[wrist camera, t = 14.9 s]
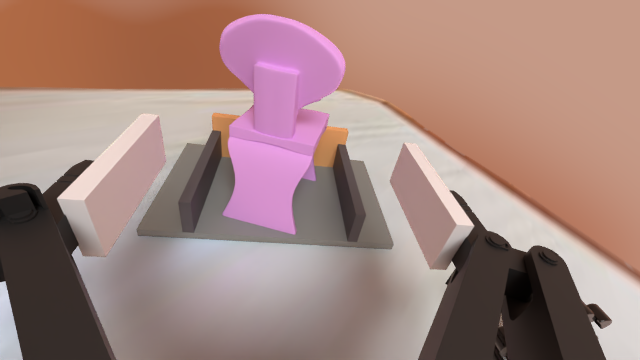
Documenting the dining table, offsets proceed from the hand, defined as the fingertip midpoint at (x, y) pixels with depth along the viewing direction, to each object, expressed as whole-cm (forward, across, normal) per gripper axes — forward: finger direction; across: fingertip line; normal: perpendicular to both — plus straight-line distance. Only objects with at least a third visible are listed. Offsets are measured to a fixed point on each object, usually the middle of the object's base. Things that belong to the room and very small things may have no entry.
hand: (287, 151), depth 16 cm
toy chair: (+8, 0, -9) cm, 12 cm away
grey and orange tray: (+8, 0, -10) cm, 12 cm away
